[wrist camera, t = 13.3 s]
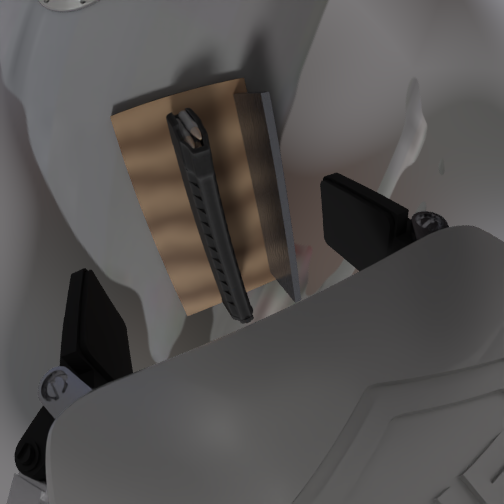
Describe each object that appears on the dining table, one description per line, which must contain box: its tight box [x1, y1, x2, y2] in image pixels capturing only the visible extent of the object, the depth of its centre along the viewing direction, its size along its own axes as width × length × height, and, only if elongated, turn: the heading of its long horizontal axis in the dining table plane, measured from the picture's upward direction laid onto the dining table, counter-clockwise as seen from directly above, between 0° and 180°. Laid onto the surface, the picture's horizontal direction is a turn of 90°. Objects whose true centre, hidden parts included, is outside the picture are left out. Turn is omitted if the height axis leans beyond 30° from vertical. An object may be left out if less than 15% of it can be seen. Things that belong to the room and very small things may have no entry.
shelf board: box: [110, 78, 275, 316], centre depth 43 cm, size 34×18×2 cm, turn 13°
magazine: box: [166, 108, 254, 324], centre depth 38 cm, size 17×3×30 cm
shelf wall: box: [233, 92, 301, 303], centre depth 40 cm, size 30×1×9 cm, turn 13°
